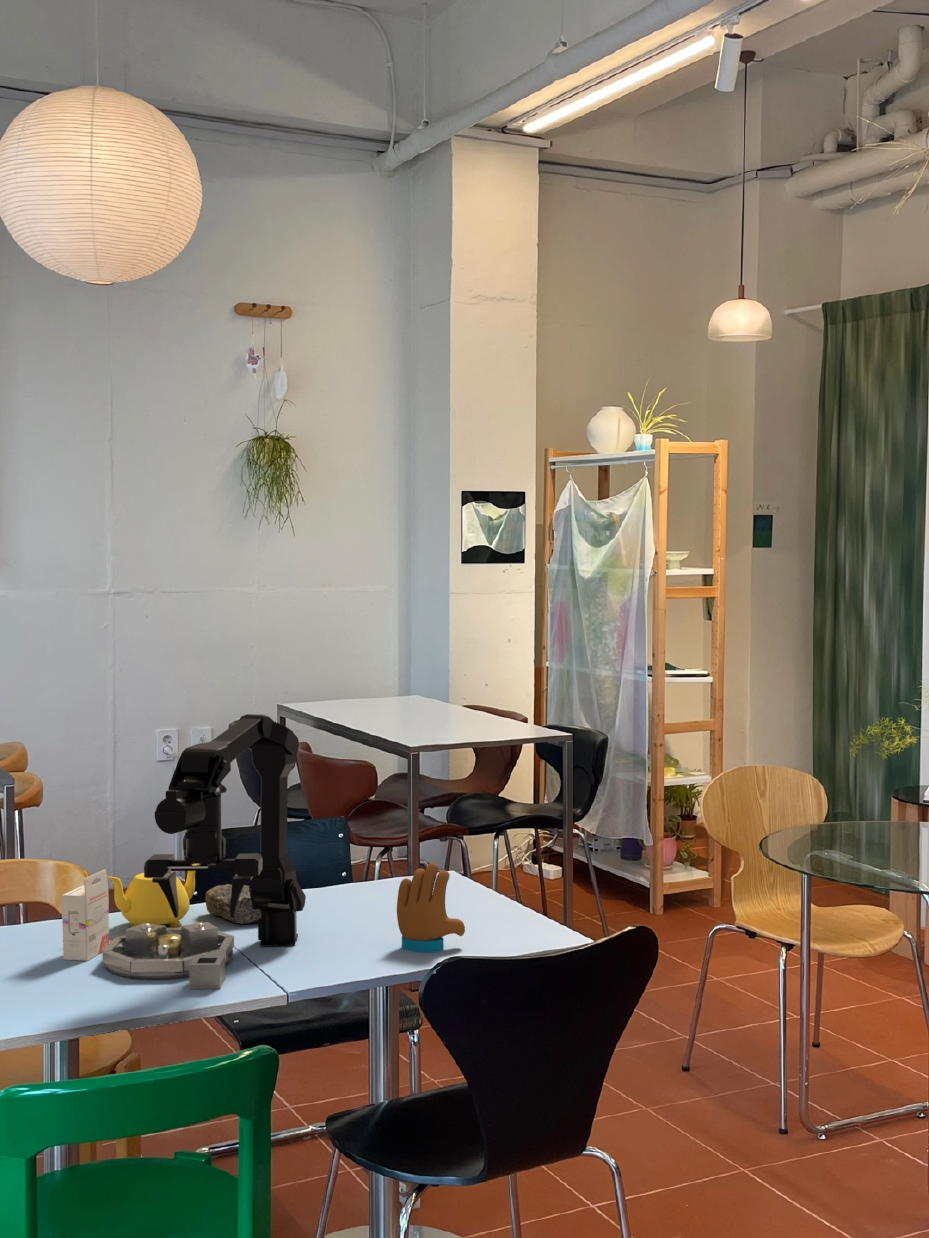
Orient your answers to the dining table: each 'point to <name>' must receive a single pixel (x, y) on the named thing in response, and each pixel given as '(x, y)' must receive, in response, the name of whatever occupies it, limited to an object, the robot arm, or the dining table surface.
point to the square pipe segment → (207, 972)
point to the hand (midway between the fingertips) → (204, 916)
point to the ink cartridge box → (86, 919)
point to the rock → (221, 900)
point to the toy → (425, 911)
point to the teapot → (152, 900)
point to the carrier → (164, 950)
